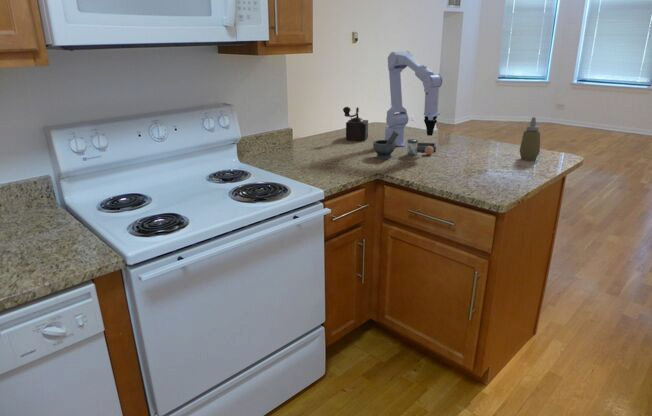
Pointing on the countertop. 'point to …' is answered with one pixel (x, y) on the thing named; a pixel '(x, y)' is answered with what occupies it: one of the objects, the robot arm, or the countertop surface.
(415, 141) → the shaker
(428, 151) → the ball
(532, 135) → the squeeze bottle
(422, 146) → the dish
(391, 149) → the mortar and pestle
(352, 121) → the manual coffee grinder
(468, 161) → the countertop surface
